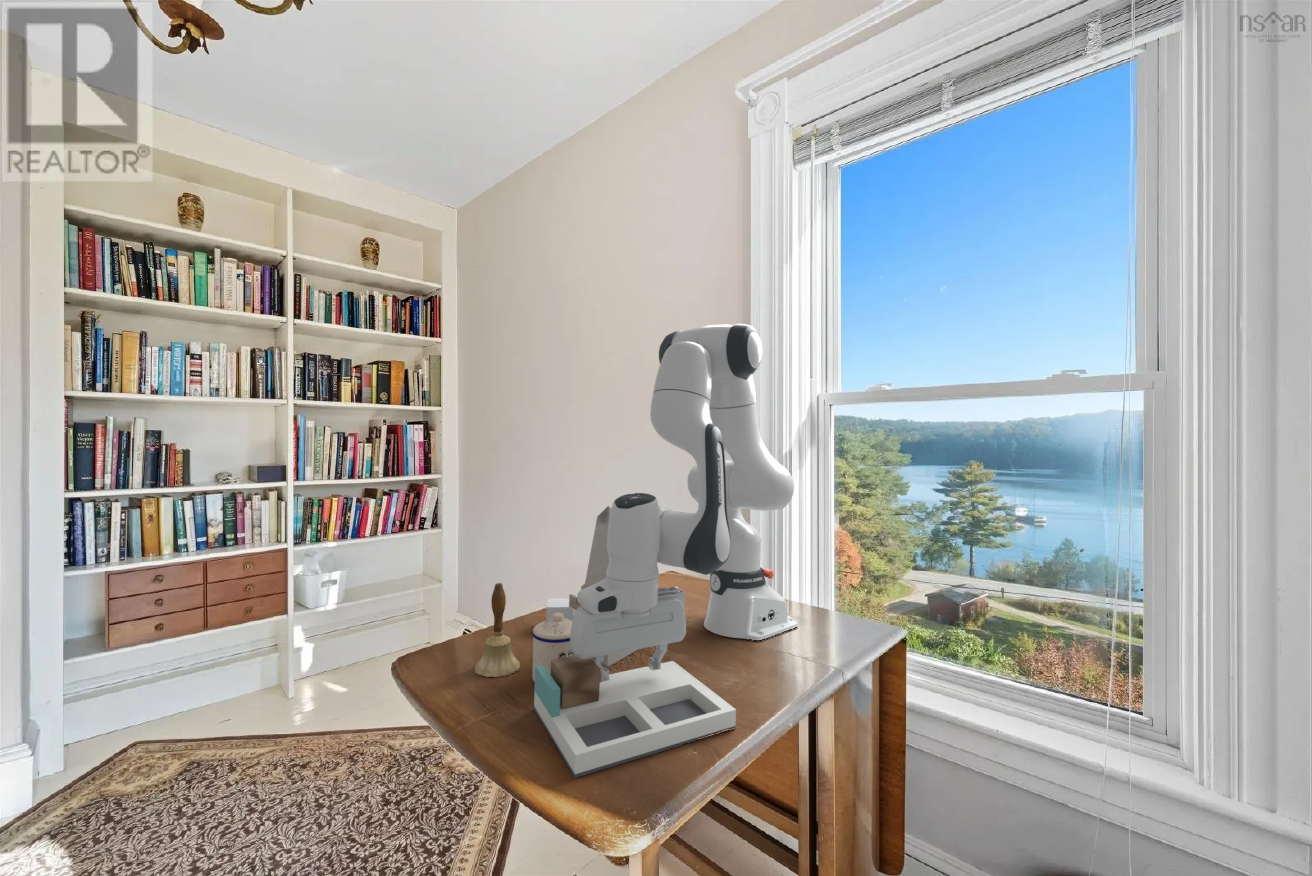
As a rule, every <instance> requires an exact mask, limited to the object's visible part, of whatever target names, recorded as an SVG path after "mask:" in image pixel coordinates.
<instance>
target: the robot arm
mask: <svg viewBox="0 0 1312 876" xmlns="http://www.w3.org/2000/svg"><path fill="white" fill-rule="evenodd" d="M762 358H763V343H762V339H761V336H760V333H759V332H758V331H757V330H756V329H755V328H754V327H753V326H752V325H749V324H744V323H733V325H732V324H712V325H711V324H710V325H706V326H701V327H696V328H691V329H687V330H681V329H680V330H677V331H673V332H671V333H669V334H667V335H666V336H665V337H664V338H663V340H662V342H661V343H660V345H659V348H658V360H659V367H658V371H657V374H656V377H655V382H654V386H653V392H652V399H651V404H650V411H649V412H650V413H649V414H650V423H651V424H652V427H653V429H654V430H655V432H656V433H657V434H658V436H659V437H661V438H662V439H663V440H665V442H667V443H669V444H671V445H673V446H675V447H677V448H678V449H681V450H683V451H685V452H686V453H688V454H689V455H691V457H692V458H693V460H694V461H695V464H694V465H693V466H692V468H690V471H689V473H688V476H687V489H688V492H689V494H690V496H691V497H692V499H693V500H694V501H696V502H697V503H698V506H697V507H698V508H697V511H696V512H694V513H692V512H685V511H684V512H683V511H675V510H672V509H666V508H664V507H662V506H660V505H659V503H658V498H657V497H656V496H655V495H653V494H649V493H646V492H645V493H644V492H635V493H628V494H627V493H626V494H622V495H620V496H619V497H617V498H615V499H614V500H613V502H612V506H611V507H610V508H611V512H610V517H609V524H608V535H607V551H608V555H609V564H608V567H607V571H606V578H605V579H603V580H601V581H600V582H598V583H596V584H593V585H591V586H589V587H587V588H585V589H582V590H581V589H580V590H579V591H578V593H577V596H576V597H577V601H578V603H579V604H580V605H581V606H580V607H579V608H577V610H576V609H575V610H574V616H573V621H572V627H571V636H570V648H571V650H572V652H573V653H574V654H575V655H576V656H577V657H578V658H579V659H581V660H583V659H588V658H591V659H592V661H593V662H594V663H595V664H596V665H597V666H598V667H599V668H600V669H601V670H600V682H604V681H608V680H609V674H610V670H609V668H607V666H604V665H601V663H600V662H603V661H604V655H609V654H615V653H620V652H625V651H631V650H636V649H637V650H640V649H641V650H642V649H646V648H651V647H655V651H654V653H653V655H652V656H650V657H648V666H649V669H651V670H652V671H655V670H660V668H661V663H662V660H663V658H664V656H665V654H666V653H667V651H668V644H672V643H678V642H682V641H683V640H684V638H685V637H686V634H687V622H686V612H685V605H686V604H685V603H686V595H685V592H684V590H683V589H681V588H680V587H678V586H674V585H673V586H670V587H659V584H660V583H659V581H660V580H659V579H660V572H659V568H658V567H659V566H658V564H661V565H663V566H664V565H665V566H669V567H670V566H671V567H675V568H682V569H686V570H687V571H691V572H694V573H698V574H701V575H704V576H706V575H709V585H710V594H709V601H708V605H707V606H708V607H707V611H706V615H705V618H704V622H703V626H704V628H705V629H706V630H708V631H710V632H711V633H713V634H715V635H719V636H723V637H727V638H733V639H734V638H735V639H744V640H745V639H746V640H749V639H752V640H751V641H754V640H762V639H764V638H768V637H770V636H772V635H775V634H778V633H781V632H783V631H784V630H786V629H791V628H793V627H795V626H797V625H798V622H797V621H796V619H795V618H793V617H792V616H790V615H788V614H789V613H788V607H787V606H788V605H787V602H786V599H785V598H784V597H783V596H782V595H781V594H779V593H778V592H777V591H776V590H775V589H773V588H772V587H771V586H770V584H767V581H766V578H767V579H770V580H771V579H774V577H775V572H774V570H772V569H769V568H765V569H764V568H762V567H761V552H762V551H761V549H762V548H761V547H762V540H761V536H760V533H759V531H758V530H757V529H756V528H755V527H754V526H753V525H751V524H749V523H748V522H747V521H746V520H745V518H744V517H743V515H742V512H741V509H744V510H753V511H760V512H761V511H762V512H764V511H776V510H777V511H778V510H784V508H785V507H786V506H787V505H789V503H790V501H792V498H793V495H794V489H795V484H794V479H793V477H792V475H791V474H792V473H790V471H789V470H788V469H787V467H785V466H783V465H782V464H781V463H779V461H777V460H776V458H774V456H772V454H771V453H770V451H769V450H768V447H766V445H765V443H764V440H763V438H762V435H761V431H760V424H759V418H758V409H757V398H756V397H757V395H756V390H755V384H754V378H753V375H754V373H755V372H756V371H757V370H758V368H759V366H760V364H761V362H762ZM725 452H726V453H727V454H728V455H729V457H730V458H731V460H730V459H729V460H728V459H727V460H726V457H725ZM790 620H792V621H790ZM798 626H799V625H798ZM781 634H782V633H781ZM770 638H771V637H770ZM768 639H769V638H768ZM762 641H763V640H762Z"/></svg>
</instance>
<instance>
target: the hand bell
mask: <svg viewBox="0 0 1312 876" xmlns="http://www.w3.org/2000/svg"><path fill="white" fill-rule="evenodd" d="M506 597H507V596H506V593H505V589H504V587H503V583H501V582H497V583H495V585H494V589H493V592H492V594H491V609H492V613H493V635H492V636H490V637H488V638H486V640H485V647H484V651H483V654H482V657H481V658H480V660H479V661H477V663H476V665H475V666H474V668H475V669H474V668H473V670H475V671H476V672H477V673H478V674H479V675H483V676H487V677H488V676H489V677H498V678H502V677H501V676H504V677H506V676H505V675H508V676H510V675H512V673H513V674H515V673H516V672H517V671H519V670H520V667H521V663H520V660H519V659H518V658H516V657H515V655H514V652H513V650H512V643H511V642H512V641H511V638H510V636H508V635H505V634H504V627H503V626H504V624H503V623H504V620H503V617H504V612H505V609H506V605H507V604H506V602H507V599H506ZM475 671H474V672H475ZM515 671H516V672H515ZM479 675H478V676H479ZM499 676H500V677H499ZM487 677H486V678H487Z"/></svg>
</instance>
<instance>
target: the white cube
mask: <svg viewBox="0 0 1312 876" xmlns="http://www.w3.org/2000/svg"><path fill="white" fill-rule="evenodd" d="M545 612H546V613H545V614H546V615H545V616H546V617H545V621H547V620H549V619H551V618H553V614H555V613H562V614H563V615H564V618H567V619H569V620H572V621H573V616H574V613H575V609H574V608H572V607H569V598H548V599H547V604H546V611H545Z"/></svg>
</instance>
